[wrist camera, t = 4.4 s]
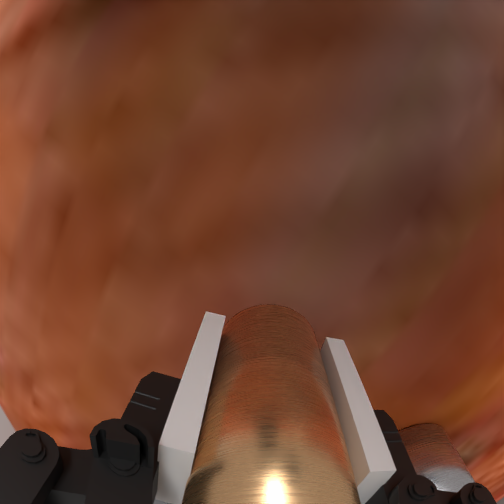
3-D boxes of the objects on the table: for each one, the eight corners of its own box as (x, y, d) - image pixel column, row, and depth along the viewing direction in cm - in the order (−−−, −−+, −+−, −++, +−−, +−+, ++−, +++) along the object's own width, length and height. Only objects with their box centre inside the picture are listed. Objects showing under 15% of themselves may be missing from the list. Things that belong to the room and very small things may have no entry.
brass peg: (199, 333, 13) (119, 575, 3) (286, 286, 12) (335, 566, 2) (251, 398, 13) (240, 612, 4) (332, 360, 13) (396, 585, 3)
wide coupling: (343, 458, 16) (362, 537, 10) (438, 407, 15) (481, 476, 9) (373, 493, 17) (390, 555, 11) (450, 452, 16) (481, 509, 10)
